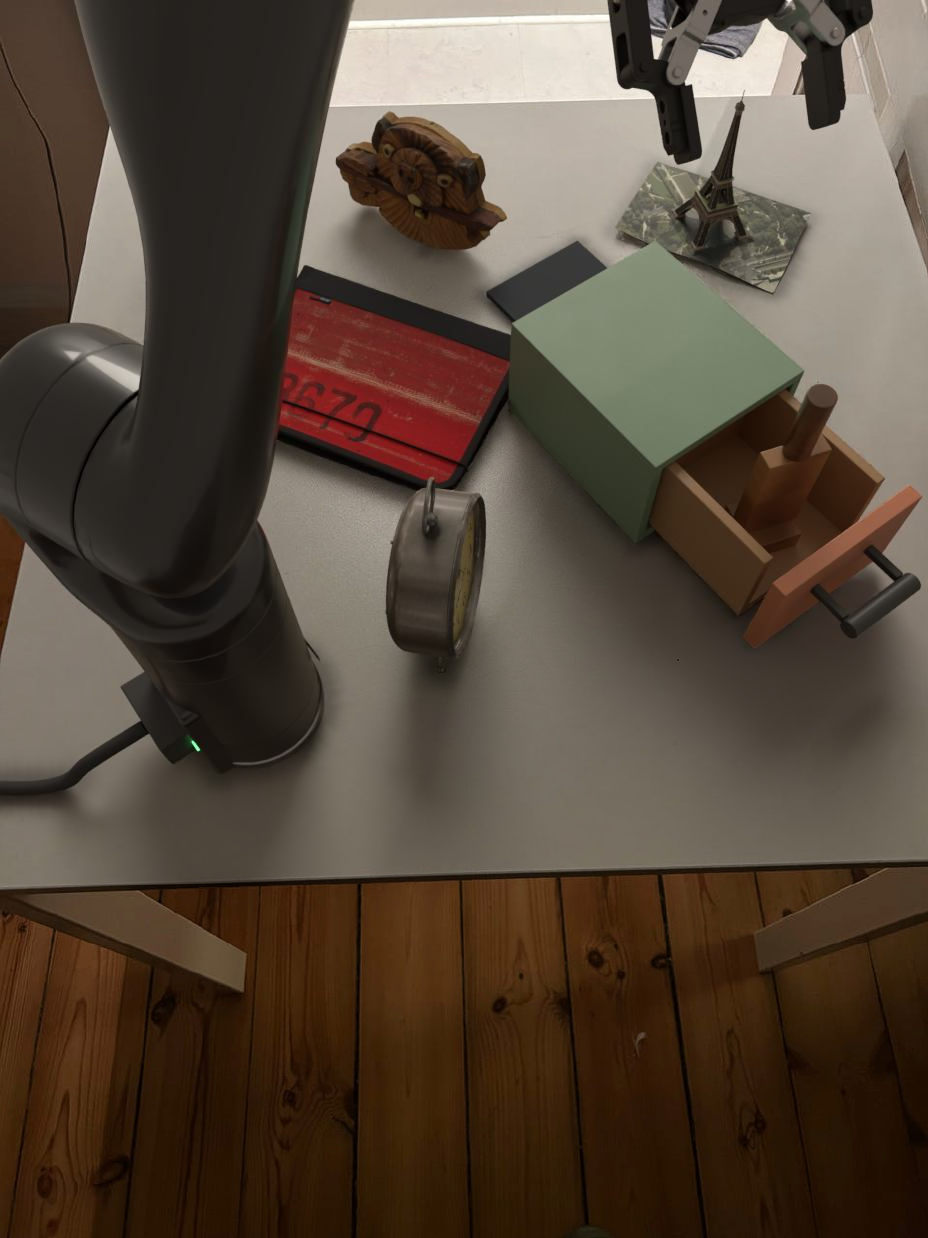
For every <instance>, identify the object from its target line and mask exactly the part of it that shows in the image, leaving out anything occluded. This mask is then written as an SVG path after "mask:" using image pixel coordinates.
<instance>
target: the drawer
mask: <svg viewBox="0 0 928 1238" xmlns="http://www.w3.org/2000/svg"><path fill="white" fill-rule="evenodd" d="M801 404H802V402H800V401H799V399H798V398H796V397H795V395H794V396H793V395H792V394H790V393H789V392H788V391H787V390H786V389H784V390H782V391H781V392H779V393H778V394H776V395H775V396H773V397H772V398H770V399H769V400H767V401H766V402H764V403H763V404H761V405H759V406H758V407H756V408H755V409H753V410H752V411H750V412H749V413H747V414H746V415H744V416H743V417H741V418H740V419H738V420H737V421H735V422H733V423H732V424H730V425H729V426H727V427H726V428H724V429H723V430H721V431H720V432H718V433H717V434H715V435H714V436H712V437H711V438H709V439H708V440H706V441H704V442H703V443H701V444H700V445H698V446H697V447H695V448H694V449H692V450H691V451H689V452H688V453H686V454H685V455H683V456H682V457H680V458H678V459H677V460H675V461H674V462H672V463H671V464H669V465H668V466H666V467H665V468H663V469H662V473H661V477H660V480H659V484H658V487H657V491H656V494H655V498H654V501H653V505H652V509H651V512H650V516H649V519H648V523H649V524H650V525H651V526H652V527H653V528H654V529H655V530H654V531H656V532H657V533H658V534H659V535H660V536H661V537H662V539H664V541H665V542H667V544H668V545H669V546H670V547H671V548H672V549H673V550H674V551H675V552H676V553H677V554H678V555H679V556H680V557H681V558H682V559H683V560H684V561H685V562H686V563H687V564H688V565H689V567H691V569H693V570H694V572H695V573H696V574H697V575H698V576H699V577H700V578H701V579H702V580H703V581H704V583H706V584H707V585H708V586H709V587H710V588H711V590H713V591H714V592H715V594H717V596H718V597H720V598H721V599H722V600H723V602H725V604H727V606H728V607H729V608H730V609H731V610H732V611H733V612H734V613H735V614H736V615H737V616H740V615H741V614H743V613H744V612H746V610H748V609H749V608H751V607H752V606H754V605H755V604H756V603H758V602H759V601H760V600H762V601H761V603H760V605H759V607H758V609H757V611H756V613H755V615H754V616H753V618H752V619H751V622H750V623H749V625H748V628H747V629H746V631H745V633H744V634H743V638H744V640H746V642H747V643H749V644H750V646H751V647H752V648H754V649H757V648H758V647H760V646H761V645H762V644H764V643H765V642H766V641H768V640H769V639H770V638H772V637H773V636H775V635H776V634H777V633H779V632H780V631H781V630H783V629H784V628H785V627H786V626H788V625H789V624H791V623H792V622H793V621H795V620H796V619H798V618H799V617H800V616H802V615H803V614H804V613H805V612H807V611H808V610H809V609H811V608H812V607H814V606H815V605H817V604H818V603H820V604H821V605H822V606H823V607H824V608H825V609H827V611H828V612H829V613H830V614H832V615H833V617H835V618H836V620H838V621H839V622H840V623H839V628H840V630H841V632H842V633H843V634H844V635H845V636H846V637H847V638H848V639H851V640H855V639H857V638H858V637H860V636H861V635H863V634H864V633H865V632H866V631H868V630H869V629H870V628H872V627H873V626H874V625H876V624H877V623H879V621H881V620H882V619H883V618H885V617H886V616H887V615H889V614H890V613H891V612H893V611H894V610H895V609H896V608H898V607H899V606H900V605H902V604H903V603H905V602H906V601H907V600H908V599H909V598H911V597H912V596H914V595H915V594H916V593H918V592H919V591H920V590H921V589H922V583H921V581H920V579H919V578H918V577H917V576H916V575H915V574H914V573H911V572H905V573H904V572H903V571H902V570H901V569H900V568H899V567H897V566H896V565H895V564H894V563H893V562H892V561H891V560H890V559H889V558H888V557H887V556H886V555H885V554H884V551H885V550H886V549H887V547H888V546H889V544H890V543H891V542H892V541H893V539H894V538H895V536H896V535H897V533H898V532H899V530H900V529H901V528H902V526H903V525H904V524H905V522H906V521H907V520H908V518H909V516H910V515H911V513H912V512H914V510H915V508H916V507H917V505H918V504H919V502H920V501H921V500H922V499H923V495H922V494H920V492H918V491H917V490H916V489H915V488H914V487H913V486H912V485H910V484H908V485H907V486H905V487H903V488H902V489H901V490H899V491H898V492H896V494H895V493H894V495H893V496H891V497H890V498H888V499H886V501H884V502H883V503H881V504H880V505H879V506H877V507H875V508H874V509H873V510H871V511H870V512H868V513H867V514H866V515H865V516H864V517H862V516H863V514H864V512H865V511H866V510H867V508H868V506H869V505H870V504H871V502H872V500H873V499H874V497H875V495H876V493H878V491H879V489H880V487H881V486H882V484H883V483H884V481H885V479H886V477H885V476H884V475H882V473H881V472H879V470H877V468H875V467H874V466H873V465H871V464H870V463H869V462H868V461H867V460H866V459H865V458H864V457H863V456H862V455H860V454H859V453H858V452H857V451H856V450H855V449H853V447H851V446H850V445H849V444H848V443H847V442H846V441H844V439H843V438H842V437H840V436H839V435H838V434H837V433H836V432H835V431H833V430H832V429H831V428H830V427H829V426H828V425H825V427H824V429H823V431H822V433H821V434H822V435H823V436H824V438H825V439H826V441H827V443H828V444H829V446H830V447H831V449H832V451H831V453H830V455H829V457H828V458H827V460H826V462H825V464H824V466H823V468H822V470H821V472H820V474H819V475H818V477H817V479H816V481H815V483H814V485H813V487H812V489H811V491H810V493H809V494H808V496H807V498H806V500H805V502H804V504H803V506H802V508H801V510H800V511H799V513H798V515H797V517H796V518H794V520H795V522H796V524H797V525H798V527H799V529H800V530H801V532H802V535H801V537H800V538H799V540H798V542H797V544H796V545H794V546H791V547H788V548H784V549H781V550H778V551H775V552H772V553H768V552H767V551H766V550H765V549H764V548H763V547H762V546H761V545H760V544H759V543H758V542H757V541H756V540H755V539H754V538H753V537H752V536H751V535H750V534H749V533H748V532H747V531H746V530H745V529H744V528H743V527H742V526H741V525H739V524H738V523H737V522H736V521H735V520H734V519H733V518H732V517H731V516H730V515H729V514H728V513H727V512H726V511H725V510H724V509H725V506H726V505H727V504H730V503H733V502H737V501H740V499H741V497H742V494H743V492H744V490H745V487H746V485H747V483H748V480H749V478H750V476H751V473H752V471H753V468H754V466H755V464H756V461H757V459H758V457H759V454H760V452H763V451H766V450H770V449H773V448H776V447H779V446H783V444H784V442H785V439H786V437H787V435H788V433H789V431H790V428H791V426H792V424H793V422H794V419H795V417H796V415H797V413H798V411H799V408H800V406H801ZM872 563H874V564H875V565H876V566H877V567H878V568H879V569H880V570H881V571H882V572H883V573H884V574H886V576H888V577H889V578H890V579H891V580H892V581H893V582H891V583H890V584H889V585H887V586H886V587H885V588H884V589H882V590H881V591H880V592H878V593H876V595H874V596H873V597H871V598H870V599H869V600H868V601H865V603H863V604H862V605H861V606H860V607H858V608H857V609H856V610H854V611H853V612H851V613H850V612H848V610H846V609H845V607H843V606H842V604H840V603H839V602H838V601H837V600H836V598H834V597H833V596H832V594H831V593H832V592H834V591H835V590H837V589H838V588H840V587H841V586H842V585H844V584H845V583H846V582H847V581H849V580H850V579H851V578H853V577H854V576H856V575H857V574H858V573H860V572H861V571H863V570H864V569H865V568H866V567H868V566H869V565H871V564H872Z"/></svg>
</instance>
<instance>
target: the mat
mask: <svg viewBox="0 0 928 1238" xmlns="http://www.w3.org/2000/svg"><path fill="white" fill-rule="evenodd" d="M607 268H608V266H606V265H605V264H604V263H603V262H602V261H601V260H599V258H598V257H596V256H595V255H594V254H593V253H592V252H591V251H589V249H587V247H585V246H584V245H583V244H582V243H581V242H580V241H579V240H576V241H574V242H572V243H571V244H569V245H567V246H565V247H564V248H561V249H560V250H558V251H556V252H553V253H552V254H550V255H549V256H547V257H545V258H543V259H542V260H540V261H538V262H536V263H535V264H533V265H531V266H529V267H527V268H526V269H524V270H522V271H520V272H518V273H517V274H515V275H513V276H511V277H510V278H508V279H506V280H504V281H503V282H501V283H499V284H497V285H495V286H493V287H492V288H490V289H488V290H487V291H486V292H485V297H486V298H487V299H488V300H489V301H490V302H491V303H492V304H493V306H495V307H496V308H497V309H498V310H499V311H500V312H501V313H502V314H503V315H504V316H505V317H506V318H507V319H508V320H509V321H510V322H511V324H512V323H513V322H515V321H517V320H519V319H520V318H522V317H524V316H526V315H527V314H529V313H531V312H532V311H534V310H536V309H538V308H539V307H541V306H543V305H545V304H546V303H548V302H550V301H552V300H553V299H555V298H557V297H559V296H560V295H562V294H564V293H565V292H567V291H569V290H571V289H572V288H574V287H576V286H578V285H579V284H581V283H583V282H585V281H586V280H588V279H590V278H592V277H593V276H595V275H597V274H599V273H600V272H602V271H604V270H605V269H607Z"/></svg>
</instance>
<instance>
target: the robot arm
mask: <svg viewBox="0 0 928 1238" xmlns="http://www.w3.org/2000/svg"><path fill="white" fill-rule="evenodd" d="M73 1H74V5H75V9H76V13H77V17H78V20H79V26H80V30H81V33H82V37H83V40H84V45H85V48H86V51H87V52H86V53H87V55H88V59H89V62H90V63H89V64H90V66H91V70H92V73H93V77H94V80H95V83H96V86H97V90H98V93H99V96H100V99H101V103H102V105H103V109H104V112H105V115H106V119H107V121H108V125H109V128H110V131H111V133H112V136H113V140H114V143H115V146H116V149H117V152H118V155H119V158H120V162H121V164H122V167H123V171H124V174H125V177H126V181H127V184H128V187H129V191H130V194H131V198H132V201H133V202H132V203H133V205H134V209H135V213H136V217H137V222H138V229H139V234H140V239H141V240H140V241H141V246H142V254H143V266H144V276H145V314H144V315H145V316H144V333H143V344H141V343H139V342H138V341H136V340H134V339H132V338H130V337H129V336H126V335H124V334H123V333H121V332H118V331H116V330H114V329H111V328H110V327H107V326H103V325H99V324H94V323H87V322H64V323H58V324H53V325H49V326H47V327H43V328H41V329H39V330H37V331H35V332H33V333H31V334H29V335H27V336H26V337H23V339H21V340H19V341H18V342H17V343H16V344H15V345H14V346H13V347H11V348H10V349H9V350H8V351H7V352H6V353H5V354H4V355H3V356H2V357H1V358H0V514H2V516H3V518H4V519H5V520H6V521H7V523H8V524H9V525H10V526H11V528H12V529H13V530H14V531H15V532H16V533H17V535H18V536H19V537H20V538H21V539H22V540H23V541H24V543H25V544H26V545H27V546H28V547H29V548H30V549H31V551H32V552H33V553H34V554H35V556H37V558H38V559H39V560H40V561H41V562H42V564H44V566H45V567H46V569H48V570H49V572H51V574H52V575H53V576H54V577H55V579H57V581H58V582H59V583H60V584H61V585H62V586H63V588H65V589H66V590H67V591H68V592H69V593H70V595H72V596H73V597H74V598H75V599H76V600H77V601H79V602H80V603H81V604H82V605H83V606H85V607H86V608H87V609H88V610H89V611H91V612H92V613H93V614H95V615H96V616H97V617H98V618H99V619H100V620H102V621H103V622H104V623H106V625H108V626H109V627H110V628H111V630H112V631H113V632H114V634H115V635H116V636H117V637H118V639H119V640H120V641H121V642H122V644H123V645H124V646H125V648H126V649H127V650H128V652H129V653H130V654H131V656H132V657H133V658H134V660H135V661H136V662H137V663H138V665H139V666H140V667H141V669H142V670H143V672H141V673H140V674H138V675H136V676H135V677H133V678H131V679H130V680H128V681H127V682H125V683H124V684H121V686H120V690H121V691H122V693H123V694H124V696H125V698H126V699H127V701H128V702H129V704H130V705H131V708H132V709H133V710H134V712H135V714H136V715H137V717H138V718H139V721H138V722H135V724H132V725H131V726H129V727H127V728H126V729H125V730H123V731H121V732H120V733H118V734H116V735H115V736H114V737H111V738H110V739H108V740H107V741H105V742H104V743H102V744H101V745H99V746H97V747H96V748H94V749H92V750H91V751H90V752H89V753H87V754H85V755H84V756H82V757H81V758H79V760H78V761H76V762H75V763H74V765H72V767H71V768H70V769H69V770H68V771H66V772H65V773H62V774H60V775H57V776H54V777H50V778H45V779H38V780H0V796H2V797H3V796H5V797H6V796H7V797H8V796H9V797H24V796H25V797H26V796H28V797H29V796H42V795H50V794H55V793H59V792H62V791H66V790H68V789H72V788H73V787H75V786H76V785H78V784H79V783H80V782H81V781H82V779H84V778H85V776H87V774H89V773H90V772H91V771H92V770H94V769H95V768H97V767H99V766H100V765H102V764H103V763H105V762H106V761H107V760H109V759H111V758H112V757H114V756H116V755H117V754H119V753H121V752H122V751H124V750H126V749H127V748H129V747H130V746H132V745H133V744H135V743H137V742H139V741H140V740H142V739H143V738H145V737H146V736H148V735H149V736H150V737H151V739H152V741H153V742H154V744H155V746H156V747H157V749H158V751H159V752H161V754H162V755H163V756H164V757H165V758H166V759H167V761H168V762H169V763H170V764H171V765H175V764H177V763H178V762H181V761H182V760H183V759H184V758H186V757H188V756H189V755H191V754H192V753H194V752H195V751H197V752H199V751H200V752H201V754H202V755H203V756H204V757H205V758H206V760H207V761H208V762H209V764H210V765H211V766H212V767H213V769H214V771H216V772H217V774H219V775H224V774H225V773H227V772H229V771H230V770H232V769H235V768H237V769H238V768H239V769H257V768H264V767H268V766H272V765H275V764H277V763H279V762H282V761H283V760H286V759H287V758H290V757H291V756H293V754H295V753H296V752H298V751H299V750H300V749H301V748H302V747H303V746H305V744H306V743H307V742H308V741H309V740H310V739H311V737H312V736H313V735H314V734H315V731H316V730H317V728H318V726H319V723H320V721H321V718H322V714H323V711H324V705H325V690H324V685H323V681H322V678H321V676H320V673H319V670H318V668H317V666H316V664H315V663H314V660H313V658H312V655H311V652H312V654H313V655H314V656H315V657H316V659H317V660H318V662H319V663H321V658H320V656H319V655H318V654H317V652H316V651H315V649H314V648H313V647H312V646H311V644H310V643H309V642H308V641H307V639H305V636H304V634H303V631H302V628H301V625H300V624H299V623H300V622H299V620H298V618H297V616H296V615H297V614H296V613H295V610H294V608H293V604H292V602H291V600H290V596H289V594H288V590H287V589H286V586H285V583H284V580H283V578H282V575H281V572H280V569H279V567H278V563H277V561H276V558H275V556H274V553H273V551H272V548H271V545H270V542H269V540H268V537H267V535H266V532H265V531H264V529H263V527H262V525H261V523H260V522H259V520H258V519H259V516H260V514H261V511H262V508H263V505H264V502H265V499H266V496H267V492H268V488H269V484H270V480H271V477H272V476H271V475H272V470H273V466H274V462H275V461H274V460H275V456H276V450H277V445H278V444H277V443H278V440H277V437H278V429H279V422H280V414H281V407H282V398H283V389H284V381H285V372H286V363H287V355H288V346H289V337H290V329H291V320H292V311H293V303H294V295H295V288H296V281H297V277H298V275H299V267H300V261H301V255H302V248H303V243H304V236H305V230H306V225H307V219H308V214H309V207H310V203H311V198H312V193H313V187H314V183H315V179H316V173H317V167H318V163H319V157H320V153H321V148H322V143H323V138H324V133H325V128H326V123H327V119H328V113H329V109H330V106H331V105H330V104H331V100H332V96H333V92H334V87H335V83H336V78H337V74H338V70H339V65H340V61H341V57H342V53H343V49H344V45H345V40H346V36H347V33H348V29H349V25H350V22H351V18H352V14H353V11H354V10H353V9H354V6H355V1H356V0H73ZM606 1H607V2H606V3H607V10H608V18H609V25H610V34H611V42H612V49H613V50H612V51H613V58H614V65H615V73H616V81H617V83H618V86H619V87H620V88H622V89H623V90H631V89H636V90H642V91H647V92H648V93H650V94H651V95H652V96H653V98H654V100H655V106H656V111H657V118H658V123H659V124H658V125H659V128H660V136H661V142H662V147H663V149H664V151H665V153H666V155H667V156H668V157H669V156H673V161H674V162H675V164H676V165H677V166H681V165H684V164H687V163H688V164H689V163H691V162H693V161H696V160H700V159H701V158H702V155H703V145H702V139H701V133H700V126H699V121H698V120H699V119H698V112H697V106H696V100H695V94H694V87H693V84H692V83H691V84H687V85H686V81H687V78H688V75H689V74H690V71H691V69H692V66H693V64H694V61H695V58H696V56H697V54H698V52H699V49H700V47H701V46H702V44H703V43H704V42H705V40H706V39H707V37H708V36H712V35H715V34H719V33H722V32H724V31H725V30H727V29H729V28H730V27H733V26H738V27H749V26H753V25H757V24H760V23H762V22H763V21H766V20H768V22H769V23H770V24H771V25H772V26H773V28H774V29H776V30H777V31H780V32H783V33H786V35H787V36H788V37H789V38H790V39H791V40H792V41H793V42H794V44H795V45H796V46H797V47H798V48H799V49H800V50H801V52H802V53H803V54H804V55H805V56H806V57H807V58H806V59H803V60H802V61H800V66H801V74H802V82H803V83H802V84H803V91H804V99H805V100H804V101H805V107H806V116H807V123H808V127H809V129H810V130H812V131H815V130H820V129H824V128H828V127H830V126H833V125H836V124H838V123H839V122H840V121H841V117H842V116H841V115H842V113H841V111H844V110H845V106H846V104H847V103H846V102H847V94H846V88H845V87H846V85H845V83H846V82H845V75H844V65H843V56H842V48H843V44H844V42H845V41H846V40H847V39H848V38H849V37H850V36H852V35H853V34H854V33H856V32H857V31H859V30H860V29H861V28H863V27H865V26H867V25H869V24H870V23H871V21H872V19H873V16H874V8H873V0H672V1H673V3H674V4H675V5H676V6H675V9H674V11H673V13H672V16H671V19H670V21H669V23H668V25H667V27H666V30H665V33H664V35H663V38H662V41H661V43H660V45H661V46H660V47H661V49H660V52H659V54H658V57H657V58H655V54H654V45H653V38H652V37H653V36H652V28H651V18H650V10H649V0H606ZM310 651H311V652H310ZM321 664H322V663H321Z"/></svg>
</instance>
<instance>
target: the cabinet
mask: <svg viewBox="0 0 928 1238" xmlns="http://www.w3.org/2000/svg"><path fill="white" fill-rule="evenodd" d="M510 335H511V345H510V371H509V397H508V400H507V402H508V403H507V409H508V411H509V412H510V413H511V414H512V415H513V416H514V417H515V418H516V420H518V421H519V422H520V424H522V426H523V427H524V428H525V429H526V430H527V431H528V432H529V433H530V434H531V435H532V436H533V437H534V438H535V440H537V442H538V443H539V444H540V445H541V446H542V447H543V448H544V449H545V450H546V451H547V453H549V454H550V455H551V456H552V457H553V458H554V460H556V461H557V463H558V464H560V466H561V467H562V468H563V469H564V470H565V471H566V472H567V473H568V475H570V476H571V477H572V479H573V480H575V481H576V483H578V485H579V486H580V487H581V488H582V489H583V490H584V491H585V492H586V493H587V494H588V495H589V496H590V497H591V499H593V500H594V502H596V504H597V505H598V506H599V507H600V508H601V509H602V510H603V511H604V512H605V513H606V514H607V515H608V516H609V518H611V519H612V520H613V522H614V523H615V524H617V526H618V527H619V528H620V529H621V530H622V531H623V532H624V533H625V535H627V536H628V537H629V538H630V539H631V540H632V542H633V543H635V544H637V543H638V542H640V541H641V540H643V539H644V538H646V537H647V536H649V535H650V534H652V533H653V532H654V531H656V530H655V529H654V528H653V527H652V526H651V525H650V524H649V523H648V519H649V516H650V512H651V509H652V505H653V501H654V498H655V494H656V491H657V487H658V484H659V480H660V477H661V473H662V469H663V468H665V467H666V466H668V465H669V464H671V463H672V462H674V461H675V460H677V459H678V458H680V457H682V456H683V455H685V454H686V453H688V452H689V451H691V450H692V449H694V448H695V447H697V446H698V445H700V444H701V443H703V442H704V441H706V440H708V439H709V438H711V437H712V436H714V435H715V434H717V433H718V432H720V431H721V430H723V429H724V428H726V427H727V426H729V425H730V424H732V423H733V422H735V421H737V420H738V419H740V418H741V417H743V416H744V415H746V414H747V413H749V412H750V411H752V410H753V409H755V408H756V407H758V406H759V405H761V404H763V403H764V402H766V401H767V400H769V399H770V398H772V397H773V396H775V395H776V394H778V393H779V392H781V391H782V390H784V389H786V390H787V391H788V392H789V393H790V394H792V395H793V396H794V397H795V394H796V391H797V390H798V387H799V384H800V382H801V380H802V379H803V376H804V373H805V370H804V368H802V367H801V366H800V365H799V364H798V363H797V362H796V361H794V359H792V358H791V357H790V356H789V355H788V354H786V353H785V352H784V351H783V350H782V349H781V348H779V347H778V346H777V345H776V344H775V343H774V342H773V341H772V340H770V338H768V337H767V336H765V334H764V333H762V332H761V331H760V330H759V329H758V328H756V327H755V325H753V324H752V323H751V322H750V321H748V320H747V319H746V318H745V317H744V316H743V315H741V314H740V313H739V312H738V311H737V310H736V309H735V308H733V307H732V306H731V305H730V304H729V303H728V302H727V301H726V300H724V299H723V298H722V297H721V296H720V295H719V294H718V293H716V292H715V291H714V290H713V289H712V288H711V287H709V285H707V284H706V283H705V282H704V281H702V280H701V279H700V278H699V277H698V276H697V275H696V274H694V273H693V272H692V271H691V270H690V269H689V268H688V267H686V266H685V265H684V264H683V263H682V262H681V261H679V259H677V258H676V257H675V256H674V255H673V254H671V252H670V251H668V250H666V249H664V248H663V247H662V246H661V245H660V244H659V243H658V242H656V241H654V242H652V243H651V244H649V243H648V244H647V245H645V246H644V247H641V248H640V249H639V250H636V251H635V252H633V253H632V254H629V255H628V256H626V257H624V258H623V259H621V260H620V261H617V262H616V263H614V264H612V265H610V266H609V267H607V269H605V270H604V271H602V272H600V273H599V274H597V275H595V276H593V277H592V278H590V279H588V280H586V281H585V282H583V283H581V284H579V285H578V286H576V287H574V288H572V289H571V290H569V291H567V292H565V293H564V294H562V295H560V296H559V297H557V298H555V299H553V300H552V301H550V302H548V303H546V304H545V305H543V306H541V307H539V308H538V309H536V310H534V311H532V312H531V313H529V314H527V315H526V316H524V317H522V318H520V319H519V320H517V321H515V322H513V323H512V322H511V325H510Z"/></svg>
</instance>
